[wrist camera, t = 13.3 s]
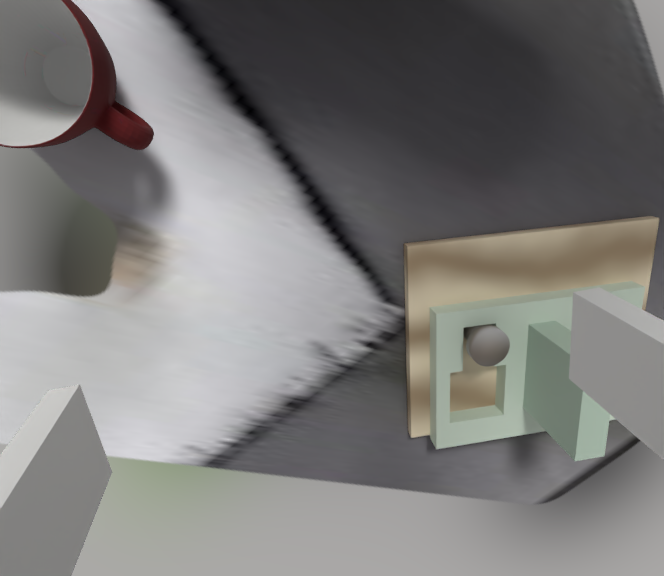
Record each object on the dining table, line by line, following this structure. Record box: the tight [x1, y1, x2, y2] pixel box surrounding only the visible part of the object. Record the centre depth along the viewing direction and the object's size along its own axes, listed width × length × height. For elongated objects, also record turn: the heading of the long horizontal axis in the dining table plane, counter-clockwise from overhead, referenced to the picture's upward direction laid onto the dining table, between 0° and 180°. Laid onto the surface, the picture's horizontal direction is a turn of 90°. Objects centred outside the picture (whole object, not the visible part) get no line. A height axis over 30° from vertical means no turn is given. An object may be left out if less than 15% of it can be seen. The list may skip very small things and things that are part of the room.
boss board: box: [404, 216, 659, 438], centre depth 42 cm, size 18×22×5 cm
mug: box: [0, 0, 154, 150], centre depth 28 cm, size 10×8×10 cm
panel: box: [430, 281, 645, 461], centre depth 40 cm, size 13×18×9 cm
